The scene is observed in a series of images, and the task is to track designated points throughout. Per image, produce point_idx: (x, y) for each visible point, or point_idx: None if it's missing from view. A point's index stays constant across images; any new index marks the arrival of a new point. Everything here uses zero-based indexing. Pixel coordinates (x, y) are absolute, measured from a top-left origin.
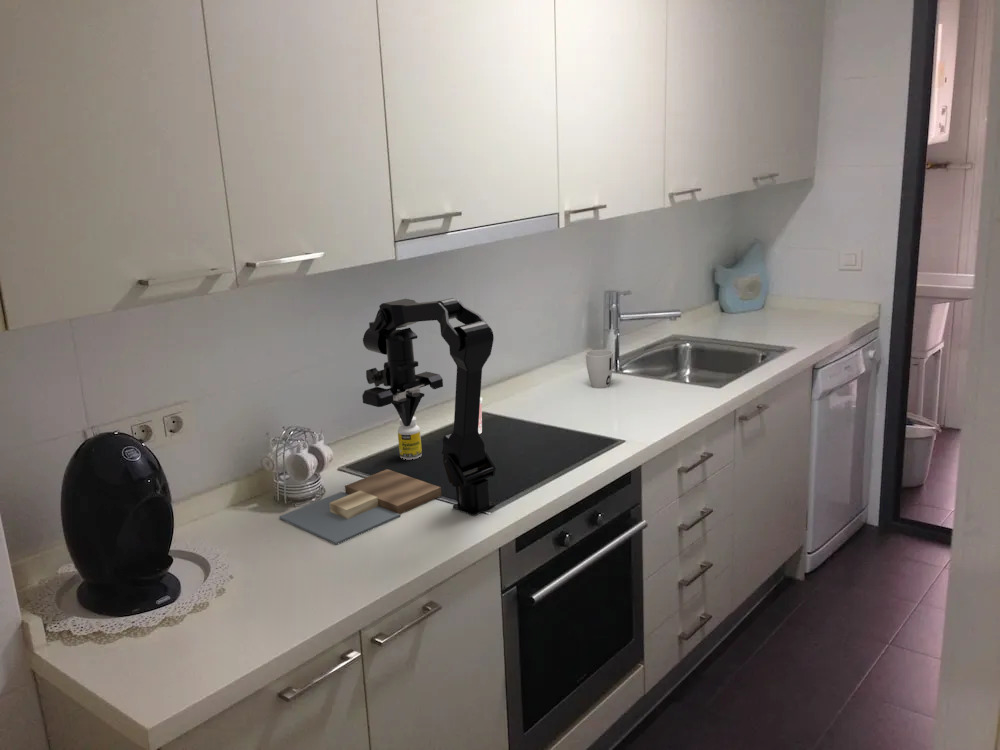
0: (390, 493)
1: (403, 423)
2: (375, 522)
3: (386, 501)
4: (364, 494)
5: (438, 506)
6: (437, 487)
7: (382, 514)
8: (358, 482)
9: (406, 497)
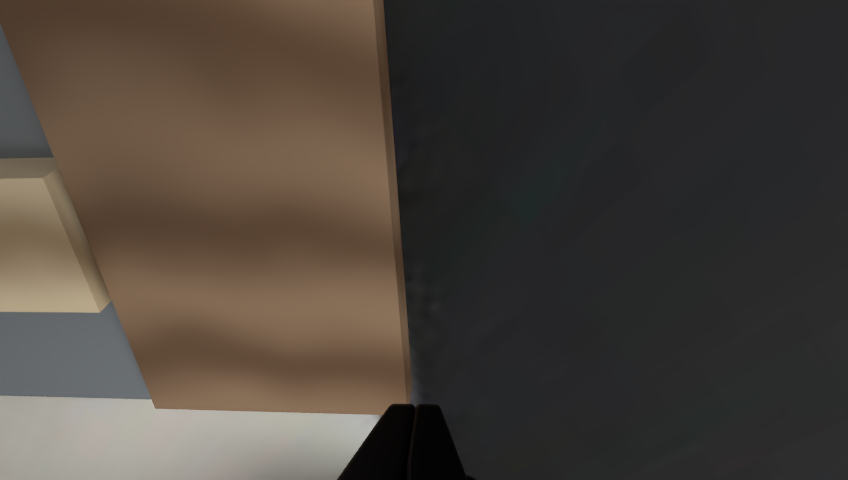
0: (188, 300)
1: (374, 434)
2: (58, 382)
3: (133, 348)
4: (49, 240)
5: (338, 430)
6: None
7: (108, 354)
8: (91, 23)
9: (227, 381)
